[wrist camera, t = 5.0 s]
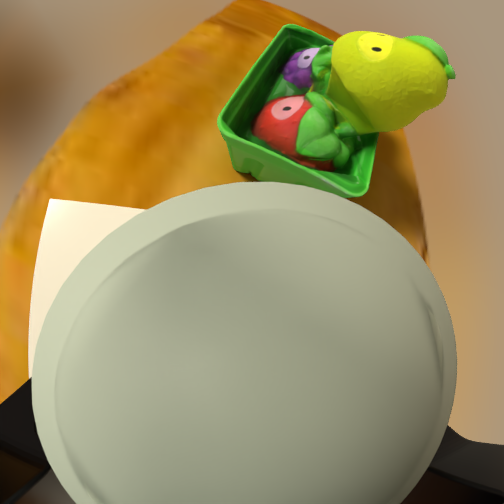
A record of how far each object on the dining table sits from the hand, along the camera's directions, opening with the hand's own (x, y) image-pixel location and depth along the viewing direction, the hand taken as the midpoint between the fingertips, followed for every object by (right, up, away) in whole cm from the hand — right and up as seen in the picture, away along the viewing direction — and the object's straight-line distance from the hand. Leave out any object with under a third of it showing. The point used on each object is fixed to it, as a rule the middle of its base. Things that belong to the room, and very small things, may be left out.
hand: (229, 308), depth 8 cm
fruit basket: (+4, +9, +10) cm, 14 cm away
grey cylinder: (-1, -2, +5) cm, 6 cm away
